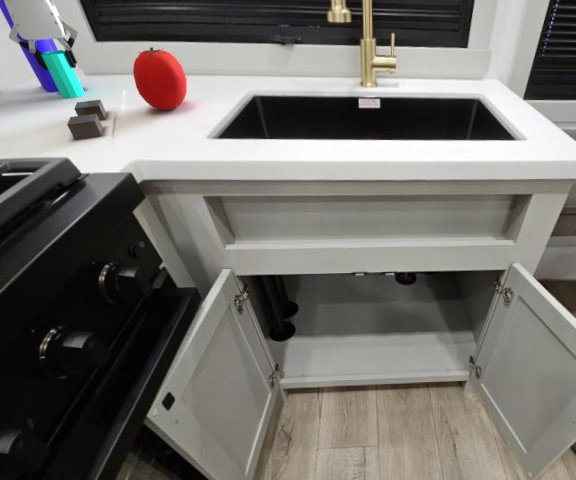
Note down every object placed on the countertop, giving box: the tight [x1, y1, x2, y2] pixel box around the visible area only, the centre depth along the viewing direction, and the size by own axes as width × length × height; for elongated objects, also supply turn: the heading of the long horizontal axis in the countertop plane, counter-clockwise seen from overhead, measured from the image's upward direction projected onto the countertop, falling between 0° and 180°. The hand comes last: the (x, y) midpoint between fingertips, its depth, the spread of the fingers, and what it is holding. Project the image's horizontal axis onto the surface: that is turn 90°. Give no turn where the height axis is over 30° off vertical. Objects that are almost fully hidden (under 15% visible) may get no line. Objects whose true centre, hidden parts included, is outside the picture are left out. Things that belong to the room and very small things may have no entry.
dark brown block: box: [73, 99, 107, 121], centre depth 76 cm, size 5×5×4 cm
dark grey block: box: [66, 114, 104, 141], centre depth 68 cm, size 5×5×4 cm
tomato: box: [132, 46, 188, 111], centre depth 79 cm, size 12×12×13 cm
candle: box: [41, 46, 86, 99], centre depth 90 cm, size 6×6×12 cm
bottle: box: [0, 0, 59, 93], centre depth 90 cm, size 8×8×30 cm
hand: (60, 67), depth 89 cm, fingers closed on candle, 6 cm apart
